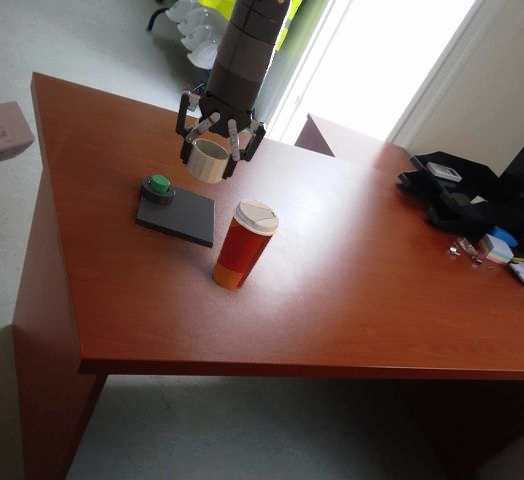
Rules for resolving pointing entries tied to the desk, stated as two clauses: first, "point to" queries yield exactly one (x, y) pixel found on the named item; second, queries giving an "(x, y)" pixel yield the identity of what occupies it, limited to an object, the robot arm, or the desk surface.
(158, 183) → the button
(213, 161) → the bowl
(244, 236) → the paper cup
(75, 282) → the desk surface
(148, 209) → the scale
